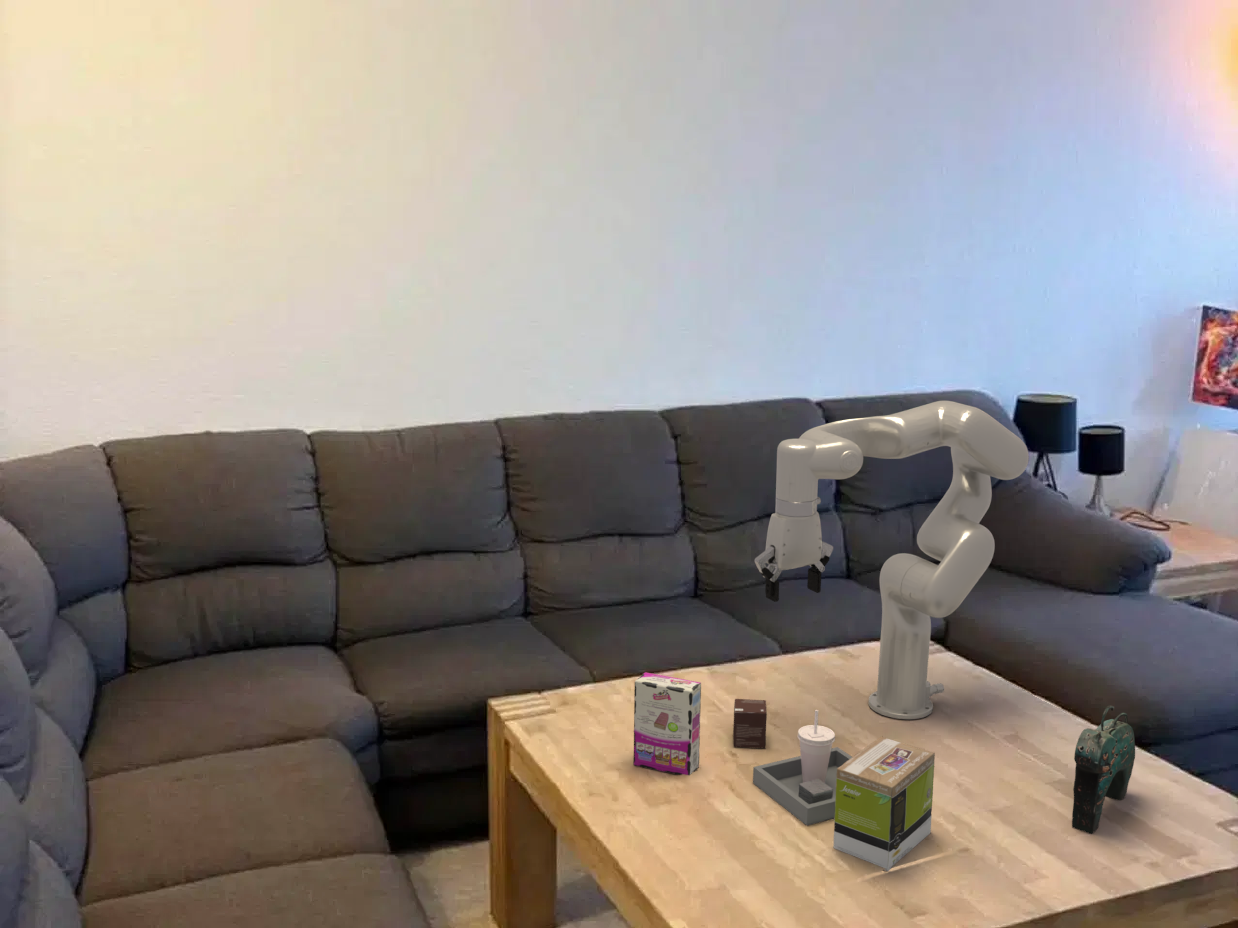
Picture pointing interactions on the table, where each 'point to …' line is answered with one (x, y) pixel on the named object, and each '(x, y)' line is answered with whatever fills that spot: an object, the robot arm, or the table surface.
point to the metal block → (815, 791)
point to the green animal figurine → (1101, 769)
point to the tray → (784, 786)
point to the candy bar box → (667, 724)
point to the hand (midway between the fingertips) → (793, 595)
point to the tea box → (883, 801)
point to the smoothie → (815, 750)
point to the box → (749, 723)
